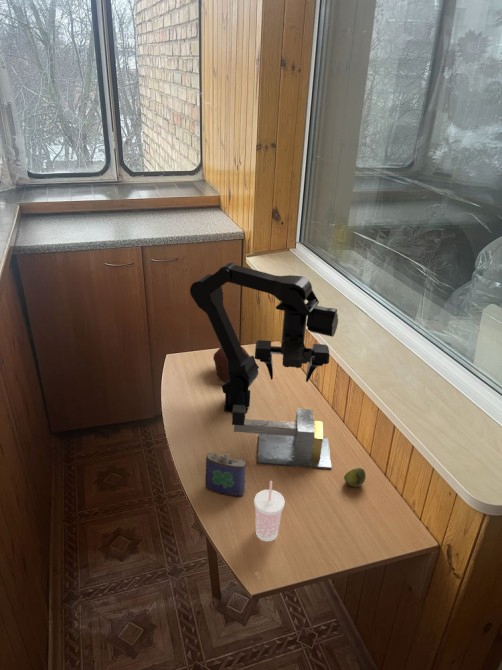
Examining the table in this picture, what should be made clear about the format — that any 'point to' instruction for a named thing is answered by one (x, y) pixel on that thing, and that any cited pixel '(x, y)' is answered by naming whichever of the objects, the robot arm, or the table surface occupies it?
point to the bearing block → (294, 446)
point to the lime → (355, 477)
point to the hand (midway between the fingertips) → (289, 379)
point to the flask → (225, 475)
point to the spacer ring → (317, 440)
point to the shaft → (260, 424)
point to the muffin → (222, 364)
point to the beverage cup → (268, 513)
